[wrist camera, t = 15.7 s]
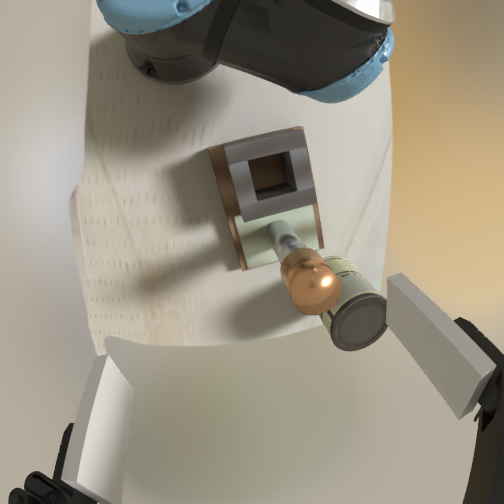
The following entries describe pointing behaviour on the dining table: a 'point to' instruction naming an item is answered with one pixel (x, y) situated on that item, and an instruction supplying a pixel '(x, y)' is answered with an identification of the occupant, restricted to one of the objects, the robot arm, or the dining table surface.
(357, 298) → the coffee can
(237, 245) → the board
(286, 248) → the peg
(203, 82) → the dining table surface
